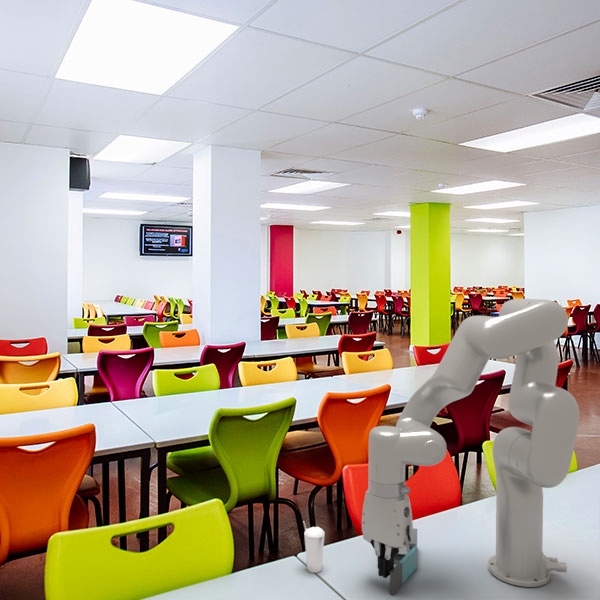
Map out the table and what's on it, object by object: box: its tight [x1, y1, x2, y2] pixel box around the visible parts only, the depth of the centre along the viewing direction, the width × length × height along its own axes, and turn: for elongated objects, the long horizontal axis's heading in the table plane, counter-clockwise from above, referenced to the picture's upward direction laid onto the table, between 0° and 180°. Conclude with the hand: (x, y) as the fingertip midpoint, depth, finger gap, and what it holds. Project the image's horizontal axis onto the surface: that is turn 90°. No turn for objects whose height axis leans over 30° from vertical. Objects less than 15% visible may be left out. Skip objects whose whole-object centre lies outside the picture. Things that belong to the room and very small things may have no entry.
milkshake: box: [302, 520, 326, 574], centre depth 122 cm, size 4×5×10 cm
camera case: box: [394, 527, 418, 565], centre depth 128 cm, size 8×8×6 cm
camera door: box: [389, 545, 419, 595], centre depth 117 cm, size 14×1×4 cm, turn 147°
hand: (385, 574), depth 115 cm, fingers closed
